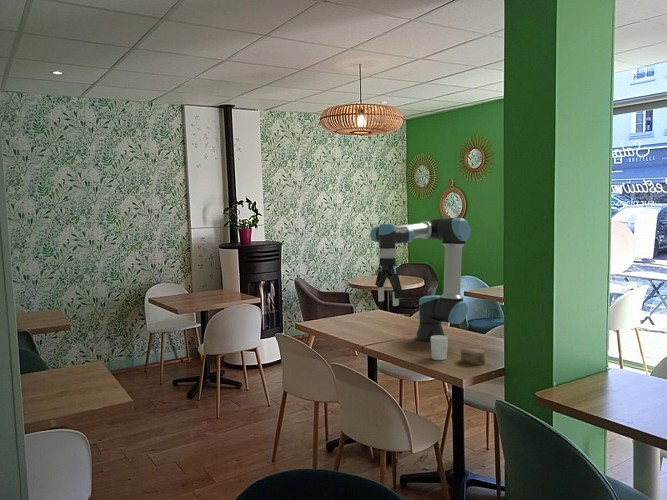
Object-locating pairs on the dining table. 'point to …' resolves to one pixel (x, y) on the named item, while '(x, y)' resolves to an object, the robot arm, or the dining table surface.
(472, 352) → the walnut lid
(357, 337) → the dining table surface
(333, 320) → the dining table surface
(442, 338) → the white cup
